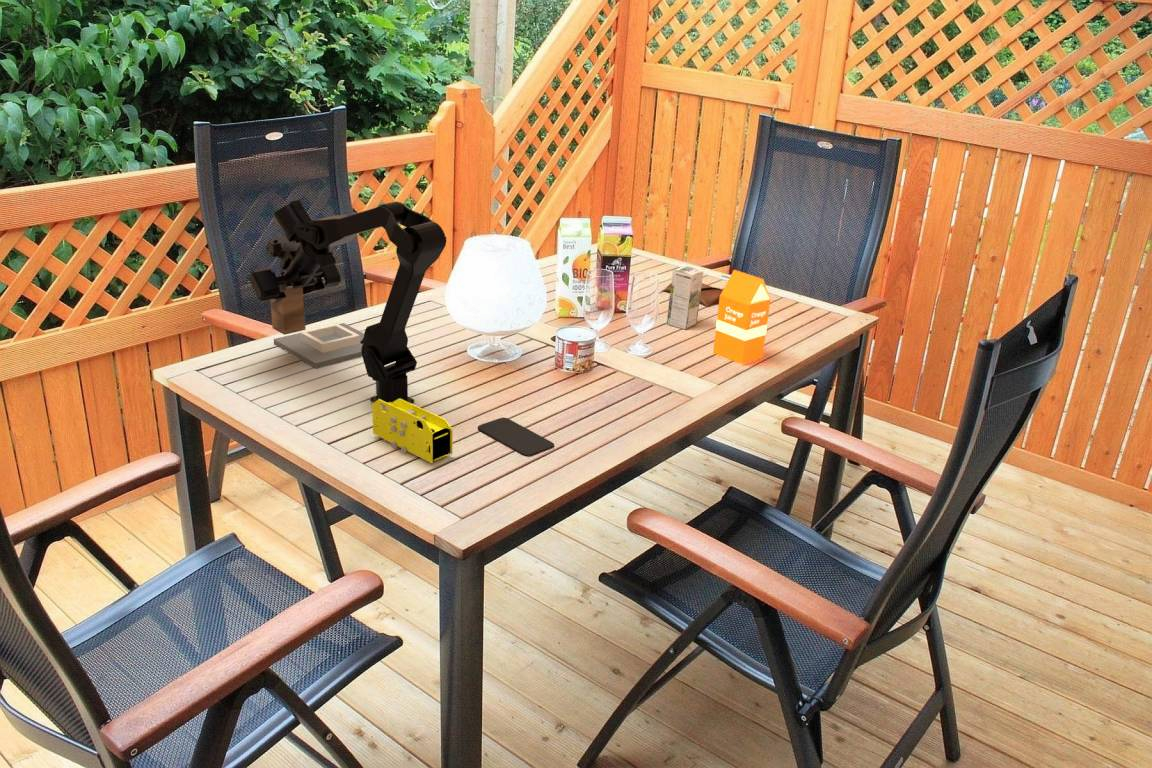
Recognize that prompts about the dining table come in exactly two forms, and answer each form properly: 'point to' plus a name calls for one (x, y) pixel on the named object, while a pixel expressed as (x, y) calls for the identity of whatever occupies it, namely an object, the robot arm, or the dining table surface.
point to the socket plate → (324, 344)
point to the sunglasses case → (705, 295)
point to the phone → (515, 437)
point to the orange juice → (742, 318)
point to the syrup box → (684, 297)
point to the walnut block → (289, 312)
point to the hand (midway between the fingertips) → (283, 298)
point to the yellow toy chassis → (412, 429)
